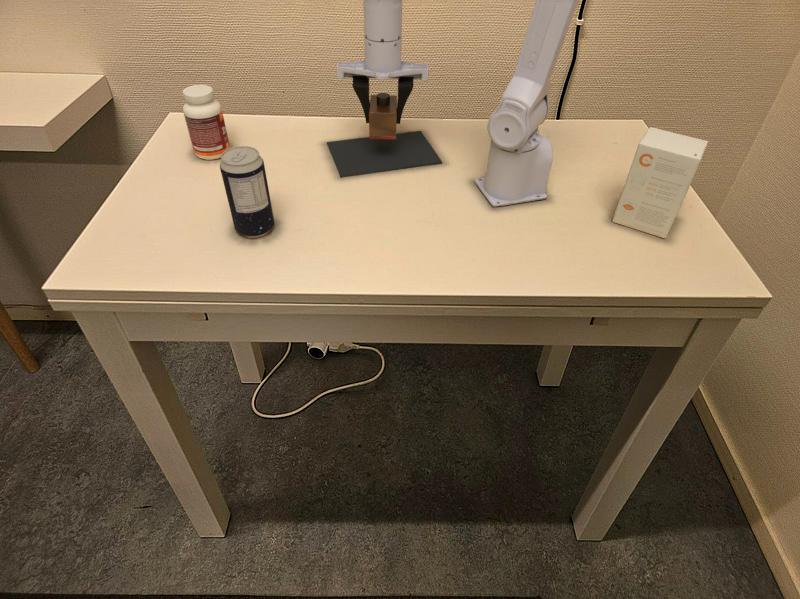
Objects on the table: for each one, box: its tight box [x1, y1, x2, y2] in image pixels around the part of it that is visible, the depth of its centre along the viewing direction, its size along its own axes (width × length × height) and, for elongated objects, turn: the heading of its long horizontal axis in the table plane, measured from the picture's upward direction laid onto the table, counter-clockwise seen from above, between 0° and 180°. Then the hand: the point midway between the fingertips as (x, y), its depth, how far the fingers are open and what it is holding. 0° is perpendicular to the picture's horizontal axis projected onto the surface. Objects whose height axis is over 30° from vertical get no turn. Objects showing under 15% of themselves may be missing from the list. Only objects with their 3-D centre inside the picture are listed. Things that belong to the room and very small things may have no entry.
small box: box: [611, 126, 709, 239], centre depth 77 cm, size 8×6×13 cm
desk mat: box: [326, 130, 443, 178], centre depth 95 cm, size 18×12×1 cm, turn 107°
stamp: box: [368, 92, 398, 140], centre depth 90 cm, size 4×7×6 cm, turn 0°
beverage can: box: [219, 145, 275, 239], centre depth 74 cm, size 6×6×12 cm
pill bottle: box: [182, 84, 231, 161], centre depth 90 cm, size 6×6×11 cm
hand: (383, 121), depth 91 cm, fingers closed on stamp, 4 cm apart
